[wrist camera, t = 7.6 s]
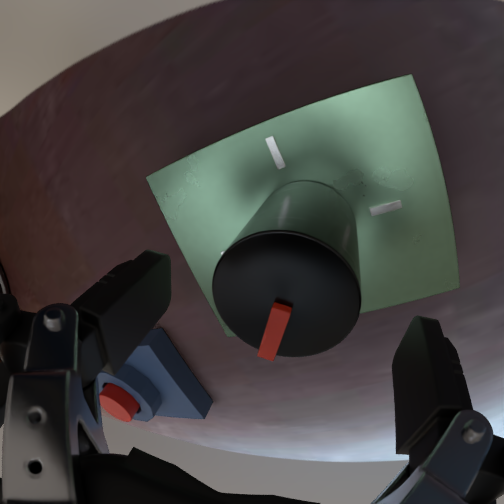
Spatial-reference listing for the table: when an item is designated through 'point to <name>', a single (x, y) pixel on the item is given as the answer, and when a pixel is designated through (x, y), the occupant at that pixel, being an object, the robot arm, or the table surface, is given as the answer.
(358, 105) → the panel
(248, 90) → the table surface
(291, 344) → the knob
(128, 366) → the button box
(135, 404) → the button
